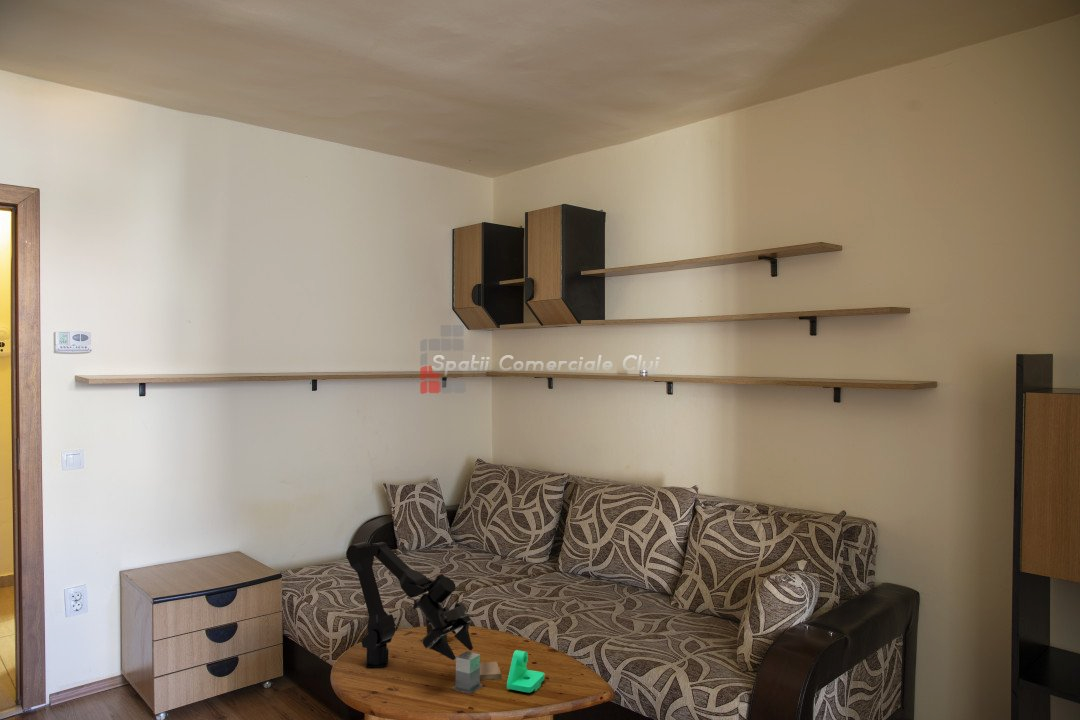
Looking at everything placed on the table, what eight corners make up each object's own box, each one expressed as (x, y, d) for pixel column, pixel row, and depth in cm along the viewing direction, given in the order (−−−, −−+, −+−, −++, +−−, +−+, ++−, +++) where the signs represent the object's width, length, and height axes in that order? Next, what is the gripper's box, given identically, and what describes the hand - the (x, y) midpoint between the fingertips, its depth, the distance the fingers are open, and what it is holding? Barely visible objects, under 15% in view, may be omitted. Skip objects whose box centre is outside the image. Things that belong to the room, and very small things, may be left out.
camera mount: (530, 696, 214) (531, 661, 214) (506, 692, 216) (507, 657, 217) (545, 681, 225) (545, 647, 225) (522, 677, 228) (523, 644, 228)
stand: (469, 680, 224) (469, 675, 224) (465, 668, 234) (465, 663, 234) (501, 678, 226) (501, 673, 226) (496, 666, 236) (496, 661, 236)
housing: (452, 689, 217) (452, 657, 218) (464, 681, 223) (465, 650, 223) (470, 694, 214) (471, 661, 215) (482, 686, 220) (483, 654, 220)
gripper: (431, 603, 215) (461, 648, 209) (466, 588, 231) (496, 629, 226) (409, 626, 218) (439, 670, 213) (445, 609, 235) (474, 650, 229)
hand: (463, 654), depth 220 cm, fingers open, 9 cm apart
